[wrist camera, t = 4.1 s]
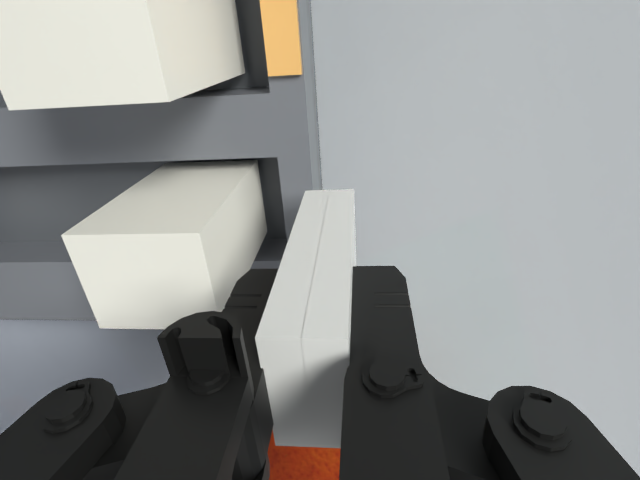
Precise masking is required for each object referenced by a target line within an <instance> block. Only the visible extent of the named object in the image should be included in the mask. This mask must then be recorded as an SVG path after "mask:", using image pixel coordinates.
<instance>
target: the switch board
mask: <svg viewBox="0 0 640 480" xmlns="http://www.w3.org/2000/svg"><path fill="white" fill-rule="evenodd" d="M235 3H236V10H237V17H238V24H239V32H240V39H241V46H242V53H243V60H244V67H245V73H244V74H242V75H239V76H236V77H234V78H231V79H228V80H226V81H223V82H221V83H218V84H215V85H213V86H210V87H207V88H205V89H202V90H199V91H197V92H194V93H192V94H189V95H186V96H184V97H181V98H178V99H176V100H173V101H171V102H159V103H140V104H121V105H102V106H83V107H64V108H45V109H26V110H8V107H7V105H6V102H5V100H4V98H3V95H2V93H1V90H0V319H6V320H94V321H97V320H96V318H95V316H94V313H93V311H92V308H91V306H90V304H89V301H88V299H87V296H86V294H85V292H84V289H83V287H82V284H81V282H80V280H79V277H78V275H77V272H76V270H75V268H74V265H73V263H72V260H71V258H70V256H69V253H68V251H67V249H66V246H65V244H64V241H63V239H62V237H61V235H62V234H63V233H65V232H66V231H68V230H69V229H71V228H72V227H73V226H75V225H76V224H78V223H79V222H81V221H82V220H84V219H85V218H87V217H88V216H89V215H91V214H92V213H94V212H95V211H97V210H98V209H100V208H101V207H103V206H104V205H105V204H107V203H108V202H110V201H111V200H113V199H114V198H116V197H117V196H119V195H120V194H121V193H123V192H124V191H126V190H127V189H129V188H130V187H132V186H133V185H135V184H136V183H137V182H139V181H140V180H142V179H143V178H145V177H146V176H148V175H149V174H151V173H152V172H153V171H155V170H156V169H158V168H159V167H161V166H162V165H164V164H165V163H182V162H211V161H239V160H257V161H258V168H259V175H260V182H261V189H262V196H263V204H264V211H265V218H266V225H267V233H266V236H265V238H264V240H263V242H262V244H261V246H260V249H259V251H258V253H257V255H256V257H255V259H254V262H253V264H252V266H251V268H250V269H279V266H280V263H281V260H282V257H283V254H284V251H285V248H286V245H287V243H288V240H289V237H290V234H291V231H292V228H293V225H294V222H295V219H296V216H297V213H298V210H299V207H300V205H301V202H302V199H303V196H304V193H305V191H308V190H322V177H321V161H320V146H319V130H318V114H317V98H316V82H315V66H314V50H313V34H312V18H311V2H310V0H235Z"/></svg>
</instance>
